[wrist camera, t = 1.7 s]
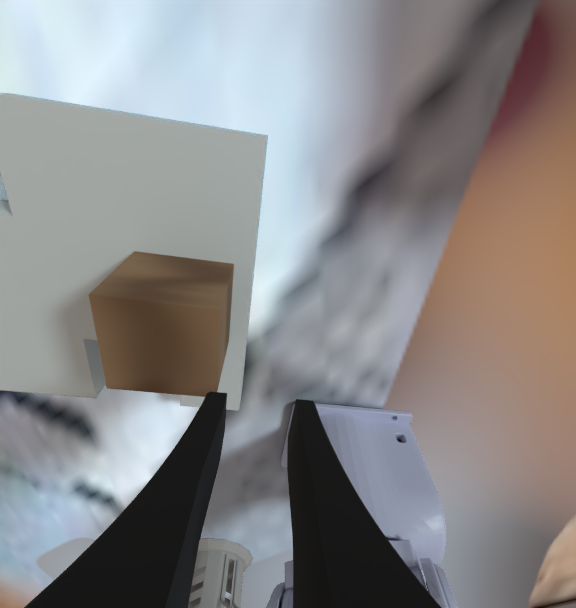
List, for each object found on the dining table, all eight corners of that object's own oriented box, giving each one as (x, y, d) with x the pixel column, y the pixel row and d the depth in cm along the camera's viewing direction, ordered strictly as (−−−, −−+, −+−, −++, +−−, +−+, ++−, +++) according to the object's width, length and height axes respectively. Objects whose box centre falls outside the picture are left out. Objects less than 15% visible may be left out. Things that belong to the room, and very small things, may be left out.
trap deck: (267, 135, 15) (263, 143, 12) (241, 389, 24) (234, 442, 20) (-282, 45, 13) (-511, 17, 9) (-95, 358, 22) (-176, 410, 18)
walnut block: (233, 263, 17) (219, 309, 13) (229, 340, 19) (215, 397, 15) (134, 251, 16) (88, 294, 12) (142, 331, 19) (106, 388, 15)
